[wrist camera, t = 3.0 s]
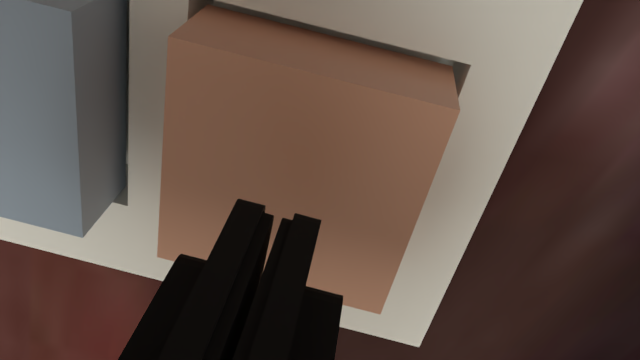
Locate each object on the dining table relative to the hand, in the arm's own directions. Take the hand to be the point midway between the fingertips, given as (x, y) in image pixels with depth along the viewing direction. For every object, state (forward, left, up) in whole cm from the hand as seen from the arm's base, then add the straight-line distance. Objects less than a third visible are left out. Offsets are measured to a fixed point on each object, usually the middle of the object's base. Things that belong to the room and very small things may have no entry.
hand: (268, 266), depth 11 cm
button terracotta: (0, 0, -5) cm, 5 cm away
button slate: (0, -8, -5) cm, 9 cm away
